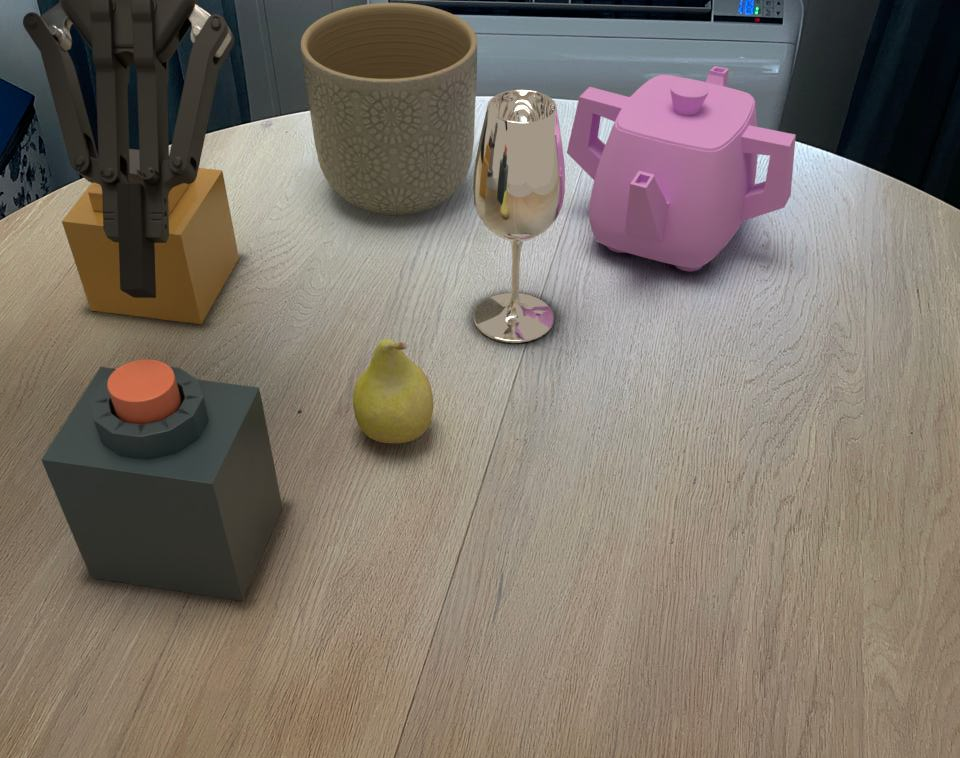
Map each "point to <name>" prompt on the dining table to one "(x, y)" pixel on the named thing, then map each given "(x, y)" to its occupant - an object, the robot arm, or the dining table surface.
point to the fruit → (393, 396)
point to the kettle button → (134, 166)
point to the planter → (392, 103)
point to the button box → (169, 488)
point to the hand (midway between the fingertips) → (138, 293)
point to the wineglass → (518, 200)
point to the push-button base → (160, 253)
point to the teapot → (678, 167)
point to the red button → (144, 391)
